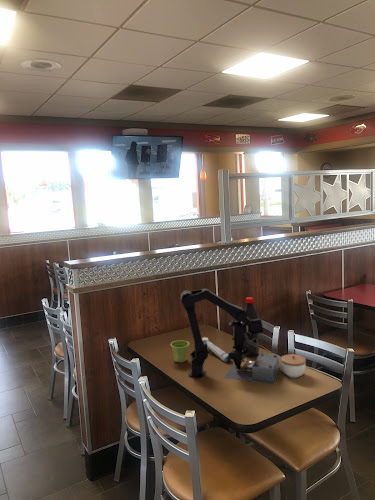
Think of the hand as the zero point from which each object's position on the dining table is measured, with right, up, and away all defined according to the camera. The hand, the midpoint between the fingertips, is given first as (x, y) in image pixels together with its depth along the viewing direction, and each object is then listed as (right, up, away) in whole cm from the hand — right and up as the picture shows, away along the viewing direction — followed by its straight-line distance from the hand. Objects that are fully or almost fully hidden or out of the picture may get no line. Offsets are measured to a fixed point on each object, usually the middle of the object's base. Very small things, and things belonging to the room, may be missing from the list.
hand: (240, 367), depth 182 cm
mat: (+5, -2, -2) cm, 6 cm away
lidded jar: (+23, -2, -6) cm, 24 cm away
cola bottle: (+8, 0, +20) cm, 21 cm away
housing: (+11, -2, -4) cm, 12 cm away
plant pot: (-28, -2, +16) cm, 32 cm away
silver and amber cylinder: (+3, -1, -1) cm, 3 cm away
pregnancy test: (-10, 0, +22) cm, 24 cm away
